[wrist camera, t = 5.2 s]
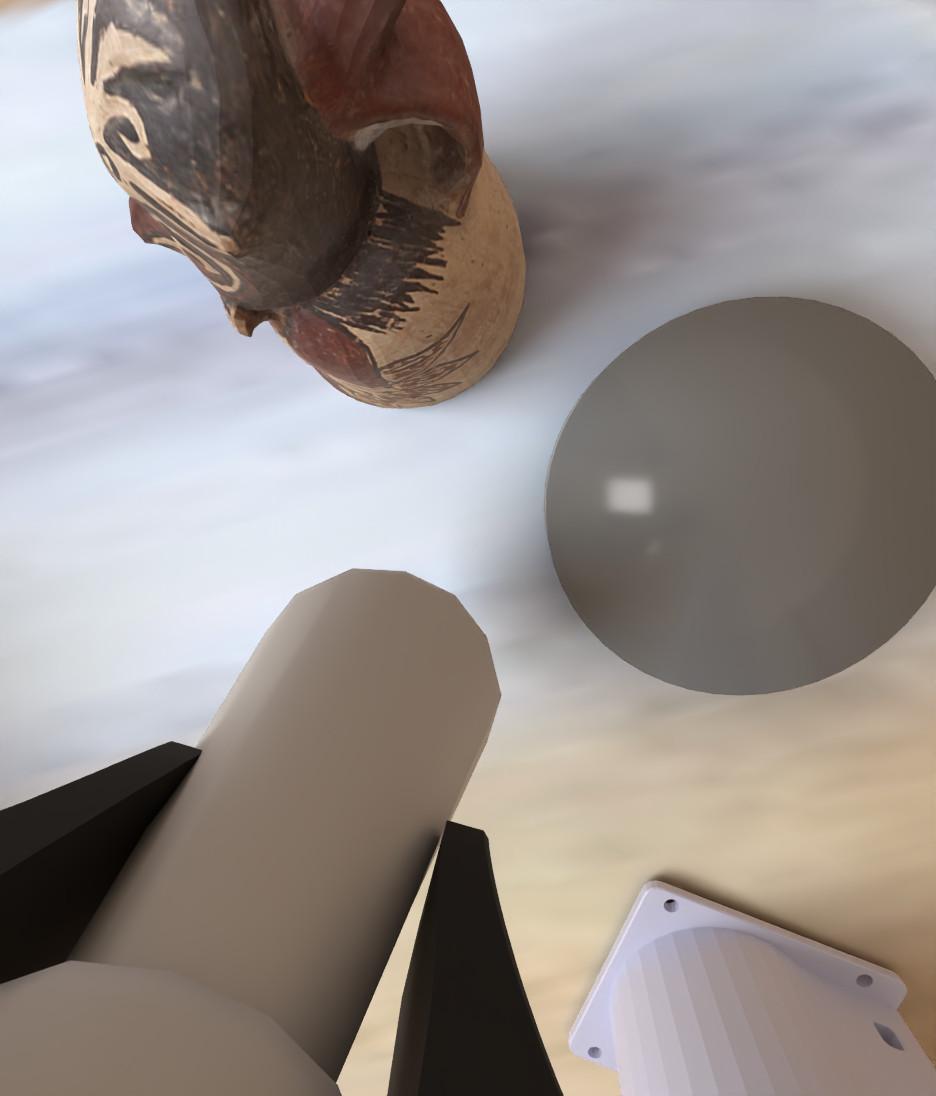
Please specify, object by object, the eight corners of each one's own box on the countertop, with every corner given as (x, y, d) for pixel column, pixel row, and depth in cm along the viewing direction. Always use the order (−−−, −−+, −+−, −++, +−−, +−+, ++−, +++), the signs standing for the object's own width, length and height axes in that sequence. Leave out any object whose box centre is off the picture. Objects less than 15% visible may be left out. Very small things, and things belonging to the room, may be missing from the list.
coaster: (987, 388, 16) (1051, 380, 14) (810, 716, 18) (843, 749, 16) (624, 261, 16) (637, 236, 14) (495, 598, 19) (492, 617, 17)
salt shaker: (448, 511, 15) (3, 1181, 2) (535, 695, 16) (603, 1876, 3) (260, 595, 16) (-793, 1375, 3) (354, 762, 17) (-140, 1841, 4)
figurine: (277, 188, 17) (-269, -371, 5) (508, 137, 16) (460, -667, 4) (322, 424, 18) (-45, 392, 7) (539, 390, 17) (565, 279, 6)
